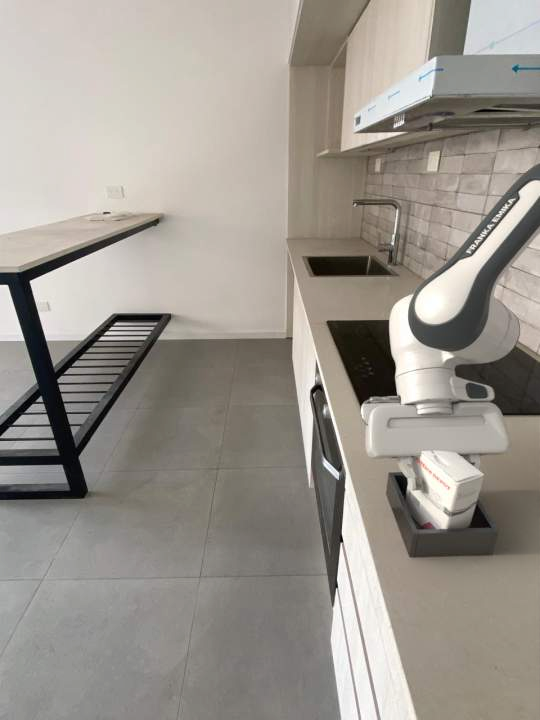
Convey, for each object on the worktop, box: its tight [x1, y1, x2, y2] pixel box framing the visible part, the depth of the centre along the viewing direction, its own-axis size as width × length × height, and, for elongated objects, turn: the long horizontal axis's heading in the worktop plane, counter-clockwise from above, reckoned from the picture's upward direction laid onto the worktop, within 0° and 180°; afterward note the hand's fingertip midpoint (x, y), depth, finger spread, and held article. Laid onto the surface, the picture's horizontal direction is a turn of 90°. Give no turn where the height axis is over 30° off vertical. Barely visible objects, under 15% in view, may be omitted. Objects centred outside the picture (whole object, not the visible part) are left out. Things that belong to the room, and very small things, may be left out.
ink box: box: [404, 451, 485, 530], centre depth 57 cm, size 9×5×12 cm, turn 21°
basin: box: [385, 471, 500, 558], centre depth 58 cm, size 11×12×4 cm
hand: (443, 489), depth 56 cm, fingers closed on ink box, 6 cm apart
